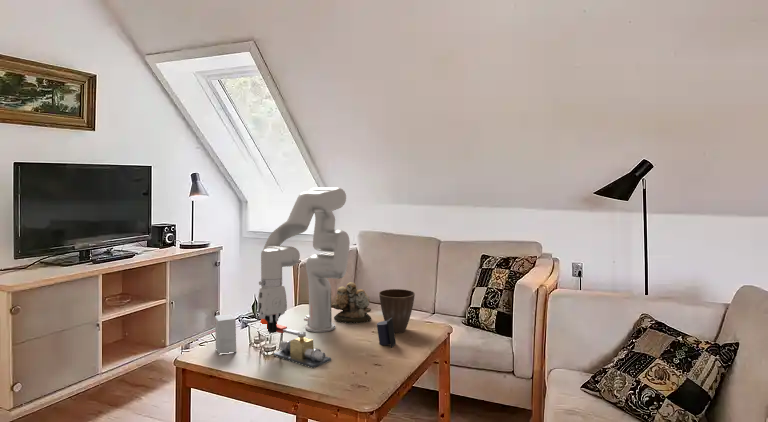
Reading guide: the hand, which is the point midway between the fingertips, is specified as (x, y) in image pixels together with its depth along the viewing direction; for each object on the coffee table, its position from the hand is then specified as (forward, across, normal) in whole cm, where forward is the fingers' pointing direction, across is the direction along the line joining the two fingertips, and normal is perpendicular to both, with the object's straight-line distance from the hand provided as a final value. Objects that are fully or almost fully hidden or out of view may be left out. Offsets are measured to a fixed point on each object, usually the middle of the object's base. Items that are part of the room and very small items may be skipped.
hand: (272, 332), depth 194 cm
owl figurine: (+7, +51, +10) cm, 52 cm away
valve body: (+8, +4, -12) cm, 15 cm away
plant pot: (+7, +52, -16) cm, 55 cm away
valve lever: (0, +4, -5) cm, 7 cm away
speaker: (+8, +36, -24) cm, 44 cm away
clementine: (+8, +16, +24) cm, 31 cm away
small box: (+8, -10, +15) cm, 20 cm away
